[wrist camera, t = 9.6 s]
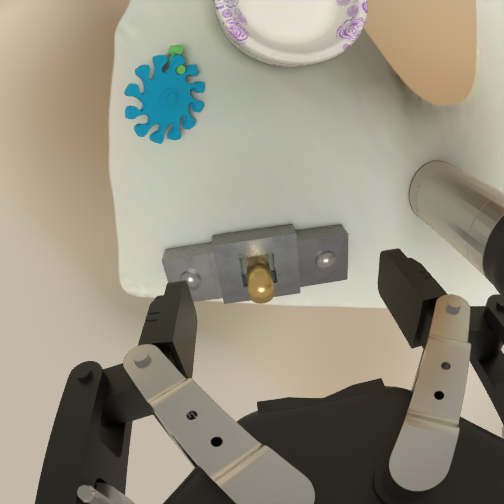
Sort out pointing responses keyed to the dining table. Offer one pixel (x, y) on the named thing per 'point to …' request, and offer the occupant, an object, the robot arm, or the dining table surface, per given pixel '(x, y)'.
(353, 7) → the paper bowls
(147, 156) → the dining table surface
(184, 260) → the grey block with hole
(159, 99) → the gear
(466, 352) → the robot arm
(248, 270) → the pin
